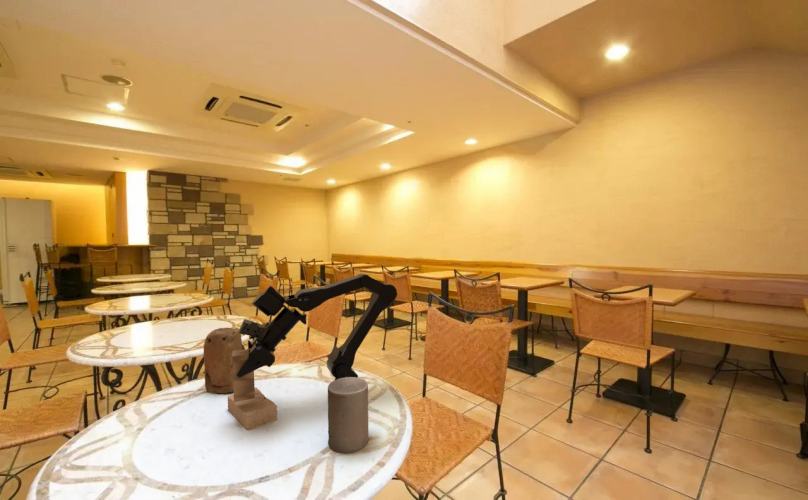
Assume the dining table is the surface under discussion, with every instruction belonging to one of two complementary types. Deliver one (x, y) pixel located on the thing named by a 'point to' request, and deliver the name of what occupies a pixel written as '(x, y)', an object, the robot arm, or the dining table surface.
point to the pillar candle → (348, 414)
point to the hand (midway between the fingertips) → (238, 373)
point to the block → (220, 359)
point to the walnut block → (244, 384)
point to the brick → (253, 410)
